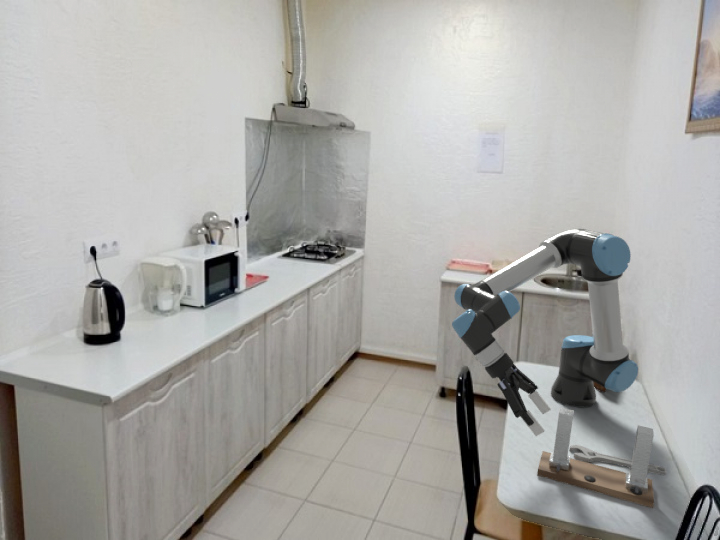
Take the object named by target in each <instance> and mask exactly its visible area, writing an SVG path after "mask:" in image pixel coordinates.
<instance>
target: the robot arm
mask: <svg viewBox="0 0 720 540" xmlns="http://www.w3.org/2000/svg"><path fill="white" fill-rule="evenodd" d="M631 255H632V254H631V249H630V246H629V245H628V243H627V241H625V240H624V239H623V238H621V237H620V236H617V235H614V234H611V233H603V232H599V231H595V230H594V231H593V230H588V229H584V228H575V229H574V228H573V229H568V230H565V231H562V232H559V233H558V234H554V235H553V236H551V237H548V238H546V239H545V240H543V241H542V242H540V243H539V245H538V247H537V248H536V249H534V250H532V251H531V252H528V253H527V254H525V255H524V256H523V255H522V257H520V258H518V259H516V260H515V261H513V262H511V263H510V264H508V265H506V266H504V267H502V268H501V269H499V270H497V271H496V272H494V273H491V274H490V275H488V276H486V277H485V278H483V279H481V280H480V281H477V282H476V283H474V284H471V283H463V284H460V285H458V287H457V288H456V290H455V292H454V301H455V303H456V304H457V306H459V307H461V308H462V309H463V310H465V311H464V312H462V313H461V314H460V315H458V317H456V318H455V319H453V321H452V322H451V327H452V329H453V330H454V331H455V333H456V334H457V336H458V337H459V338H460V339H461V341H462V342H463V343H464V345H466V347H467V348H468V349H469V350H470V351H471V353H472V355H473V356H474V357H475V360H476V361H478V362H479V363H480V365H481V366H482V367H484V370H485V371H486V372H487V374H488V375H489V377H490V378H491V379H496V378H498V380H499V381H500V382H498V383H497V387H498V389H499V390H500V391H501V392H502V395H503V396H504V398H505V400H506V401H507V404H508V406H509V407H510V409H511V411H512V413H513V415H514V416H515V418H516V419H518V418H521V419H522V421H523V422H524V423H525V425H526V426H527V427H528V428H529V429H530V431H531V432H532V433H533V435H534V436H535V437H537V436H539V435H541V434H543V433H544V432H546V431H545V429H544V428H543V426H542V425H541V424H540V423H539V421H538V420H537V419H536V417H535V416H534V415H533V414H532V412H531V411H530V410H527V408H526V405H525V402H524V401H523V398H522V396H521V394H520V392H519V390H522V391H523V392H525V393H527V394H528V395H527V396H528V398H529V399H530V400H531V401H532V403H533V404H534V405H535V407H536V408H537V409H538V410H539V412H540V413H541V414H542V415H544V414H546V413H548V412H549V411H551V410H552V408H551V407H550V406H549V404H548V403H547V402H546V400H545V399H544V398H543V397H542V396H541V395H540V393H539V392H538V389H539V387H538V385H537V384H536V382H534V381H533V380H532V379H530V378H529V377H528V376H527V375H526V374H525V373H523V372H522V371H521V370H520V369H519V368H518V367H517V365H516V364H515V363H514V361H513V359H512V358H511V357H510V356H509V354H508V353H507V352H504V351H505V349H504V347H502V345H501V344H500V342H498V340H497V339H496V337H494V336H493V333H494V332H496V331H497V330H498V329H500V328H501V327H502V326H503V325H505V324H506V323H507V322H509V320H510V321H511V320H512V319H513V318H514V316H515V315H517V314H518V313H519V311H520V310H521V304H520V303H519V300H518V298H517V297H516V296H515V295H514V294H513V293H512V292H511V291H513V290H516V289H517V288H520V287H521V286H522V285H523V284H526V283H528V282H529V281H531V280H533V279H535V278H536V277H538V276H539V275H541V274H544V273H545V272H546V271H548V270H550V269H558V268H559V267H561V266H563V265H575V266H578V267H580V271H581V278H582V280H584V281H586V282H587V288H588V298H589V299H588V300H589V307H590V308H589V309H590V318H591V319H590V320H591V329H592V330H591V331H592V336H590V335H578V334H574V335H568V336H565V337H564V338H563V340H562V344H561V345H562V346H561V351H560V358H559V359H560V360H559V367H558V368H559V369H558V375H557V377H556V378H555V380H554V382H553V384H552V386H551V390H550V396H551V398H553V399H554V400H555V401H557V402H559V403H561V404H564V405H567V406H570V407H577V408H588V407H592V406H594V405H595V404H596V400H597V393H596V389H595V388H594V383H593V381H594V382H596V383H597V384H599V385H601V386H603V387H605V388H606V389H607V390H610V391H611V392H614V393H622V392H624V391H626V390H629V388H630V387H632V386H633V384H634V383H635V381H636V379H637V377H638V373H639V366H638V364H637V363H636V362H635V361H634V360H631V359H630V354H629V348H628V347H627V346H626V345H625V344H624V342H623V341H624V340H623V331H622V328H623V327H622V319H621V318H622V316H621V305H620V292H619V282H618V281H619V279H621V278H622V277H623V273H625V272H626V270H627V269H628V268H629V264H630V262H631Z"/></svg>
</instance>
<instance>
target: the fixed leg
mask: <svg viewBox="0 0 720 540" xmlns="http://www.w3.org/2000/svg"><path fill="white" fill-rule="evenodd" d="M654 437H655V433H654V428H652V427H647V426H643V425H639V424H637V428H636V434H635V440H634V446H633V449H632V450H633V451H632V456H631V460H632V461H631V467H630V469H629V472H625V473H626V476H625V488H628V489H634V490H635V492H636V493H638V491H641V492H643V493H647V491H648V483H647V478H648V477H647V476H648V475H647V474H648V472H647V470H648V464H650V457H651V452H652V446H653V442H654Z"/></svg>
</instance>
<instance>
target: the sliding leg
mask: <svg viewBox="0 0 720 540" xmlns="http://www.w3.org/2000/svg"><path fill="white" fill-rule="evenodd" d="M574 413H575V410H573V409H569V408H564V407H560V408H559V412H558V418H557V426H556V432H555V440H554V441H555V442H554V447H553V451H551V452H550V453H551V456H550V460H549V466H553V467H556V468H557V470H556V471H559V470H560V469H564V470H568V469H569V463H570V458H571V456H569V455H568V454H569V449H570V441H571V435H572V427H573V419H574Z"/></svg>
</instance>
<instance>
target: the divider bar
mask: <svg viewBox="0 0 720 540" xmlns="http://www.w3.org/2000/svg"><path fill="white" fill-rule="evenodd" d="M550 456H551V452H548V451H545V450H542V452H541V456H540V459H539V463H538V467H537V473H536V476H539V477H541V478H542V477H543V478H545V479H549V480H552V481H557V482H560V483H563V484H565V485H566V484H567V485H570V486H572V487H573V486H574V487H577V488H581V489H584V490H588V491H592V492H595V493H598V494H602V495H606V496H608V497H611V498H612V497H613V498H616V499H618V500H622V501H623V500H624V501H627V502H630V503H634V504H636V505H637V504H638V505H641V506H644V507H647V508H652V509H653V508H654V504H655V496H654V486H653V479H651V478H648V477H646V478H647V483H648V491H647V493H643V492H641V491H638V493H636V492H635V490H634V489H628V488H625V476H626V473H627V472H626V471H625V472H624V471H621V470H617V469H613V468H609V467H605V466H601V465H599V464H598V465H597V464H594V463H592V462H590V463H588V462H586V461H581V460H578V459H576V458H571V457H570V463H569V469H568V470H564V469H560V470H559V471H556V470H557V468H556V467H553V466H549V460H550Z"/></svg>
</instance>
